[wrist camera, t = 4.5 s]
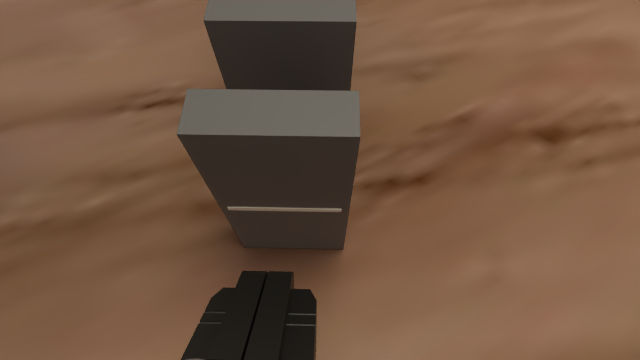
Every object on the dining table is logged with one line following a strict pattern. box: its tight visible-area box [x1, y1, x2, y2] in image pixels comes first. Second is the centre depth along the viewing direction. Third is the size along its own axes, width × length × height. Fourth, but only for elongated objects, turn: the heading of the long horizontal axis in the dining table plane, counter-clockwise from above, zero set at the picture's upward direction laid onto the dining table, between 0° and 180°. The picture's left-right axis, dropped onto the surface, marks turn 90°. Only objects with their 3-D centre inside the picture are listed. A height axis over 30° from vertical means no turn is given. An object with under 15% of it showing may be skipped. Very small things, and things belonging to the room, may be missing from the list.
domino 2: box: [177, 89, 360, 249], centre depth 15 cm, size 2×5×10 cm, turn 89°
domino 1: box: [204, 0, 356, 91], centre depth 17 cm, size 2×5×10 cm, turn 89°
